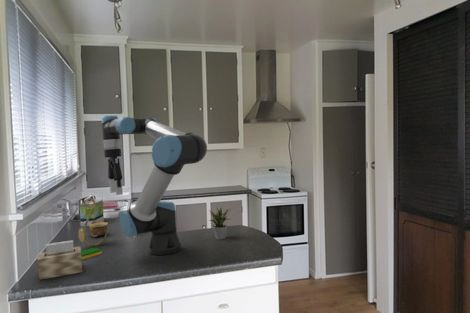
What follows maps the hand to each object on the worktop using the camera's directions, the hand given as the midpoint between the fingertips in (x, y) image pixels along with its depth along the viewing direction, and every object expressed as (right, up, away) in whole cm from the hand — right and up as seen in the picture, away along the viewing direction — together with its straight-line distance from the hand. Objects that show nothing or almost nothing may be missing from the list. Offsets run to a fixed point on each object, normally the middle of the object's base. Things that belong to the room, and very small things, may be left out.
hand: (116, 193), depth 173 cm
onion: (-21, -28, +35) cm, 50 cm away
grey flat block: (-15, -27, -23) cm, 38 cm away
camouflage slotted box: (-15, -30, -23) cm, 40 cm away
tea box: (-39, -28, +70) cm, 85 cm away
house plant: (+50, -25, +14) cm, 57 cm away
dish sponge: (-14, -30, -3) cm, 33 cm away
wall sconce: (-15, -29, +15) cm, 36 cm away
